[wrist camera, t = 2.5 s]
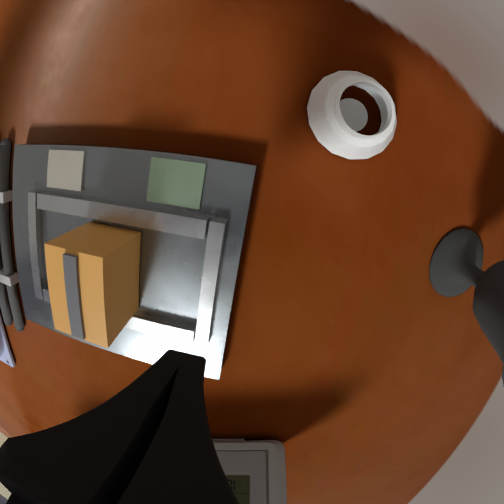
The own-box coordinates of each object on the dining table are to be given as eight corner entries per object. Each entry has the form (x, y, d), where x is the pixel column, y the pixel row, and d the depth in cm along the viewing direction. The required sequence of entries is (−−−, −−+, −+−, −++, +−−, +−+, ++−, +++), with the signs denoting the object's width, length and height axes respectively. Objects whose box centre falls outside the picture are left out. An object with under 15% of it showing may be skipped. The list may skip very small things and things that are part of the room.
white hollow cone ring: (341, 58, 14) (288, 118, 15) (355, 41, 11) (292, 110, 12) (405, 116, 14) (356, 176, 16) (429, 111, 12) (373, 181, 13)
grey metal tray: (33, 312, 20) (21, 321, 18) (25, 144, 16) (9, 145, 14) (221, 368, 20) (217, 385, 19) (257, 165, 16) (255, 166, 14)
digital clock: (292, 433, 23) (295, 538, 12) (280, 476, 25) (278, 557, 15) (118, 409, 23) (75, 495, 13) (137, 456, 26) (110, 528, 16)
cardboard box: (91, 295, 18) (53, 330, 13) (89, 221, 16) (42, 244, 12) (138, 308, 18) (106, 350, 13) (141, 231, 16) (100, 259, 12)
